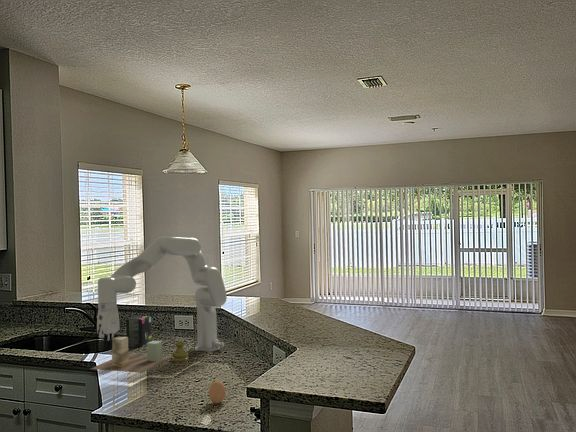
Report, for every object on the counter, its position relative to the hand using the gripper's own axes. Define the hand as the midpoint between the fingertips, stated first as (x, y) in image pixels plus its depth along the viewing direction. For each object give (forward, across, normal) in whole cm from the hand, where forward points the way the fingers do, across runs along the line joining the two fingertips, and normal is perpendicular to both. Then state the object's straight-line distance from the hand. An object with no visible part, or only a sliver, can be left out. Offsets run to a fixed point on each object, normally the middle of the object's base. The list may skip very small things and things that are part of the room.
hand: (108, 349), depth 228 cm
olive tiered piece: (+11, +22, -22) cm, 33 cm away
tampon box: (+11, +48, +16) cm, 52 cm away
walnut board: (+10, +14, -3) cm, 18 cm away
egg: (+11, -22, -61) cm, 66 cm away
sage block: (+9, +20, -10) cm, 25 cm away
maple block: (+9, +8, 0) cm, 12 cm away
